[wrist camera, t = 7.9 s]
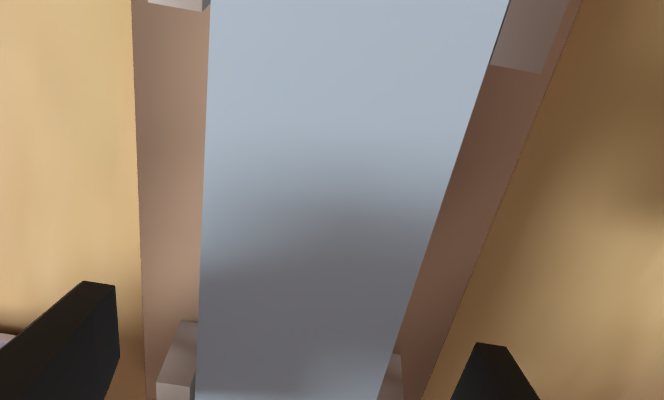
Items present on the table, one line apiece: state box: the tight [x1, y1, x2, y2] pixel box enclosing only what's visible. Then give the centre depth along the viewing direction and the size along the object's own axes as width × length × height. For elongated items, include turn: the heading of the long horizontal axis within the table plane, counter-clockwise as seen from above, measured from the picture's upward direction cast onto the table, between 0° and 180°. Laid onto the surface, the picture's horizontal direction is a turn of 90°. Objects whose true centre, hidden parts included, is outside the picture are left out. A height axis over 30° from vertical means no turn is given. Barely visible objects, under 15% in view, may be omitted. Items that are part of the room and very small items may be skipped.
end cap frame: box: [131, 0, 582, 400], centre depth 15 cm, size 10×20×4 cm, turn 171°
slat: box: [195, 0, 509, 400], centre depth 13 cm, size 4×15×6 cm, turn 171°
